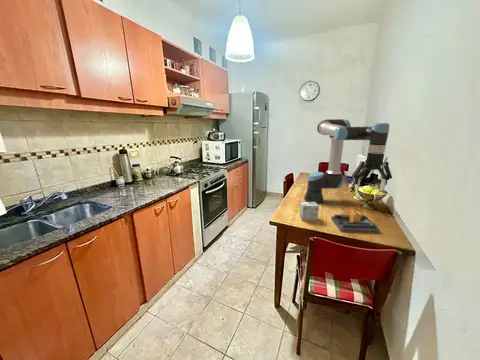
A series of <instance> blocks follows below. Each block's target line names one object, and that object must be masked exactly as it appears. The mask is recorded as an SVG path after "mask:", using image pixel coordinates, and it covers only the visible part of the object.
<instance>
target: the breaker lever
mask: <svg viewBox="0 0 480 360" xmlns="http://www.w3.org/2000/svg"><path fill="white" fill-rule="evenodd" d="M349 215H350V219H349V220H350V221H351V222H360V218H361V215H362V213H360V212H359V211H358V210H350V214H349Z"/></svg>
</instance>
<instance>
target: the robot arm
mask: <svg viewBox="0 0 480 360" xmlns="http://www.w3.org/2000/svg"><path fill="white" fill-rule="evenodd" d="M316 130H317V133H318V134H320V135H322V136H329V139H331V141H330V151H329V160H328V168H327V170H326V171H325V173H324V172H321V171H314V172H311V173H309V174H308V177H307V188H306V192H305V195H304V196H303V200H304V202H316V203H317V204H322V203H324V195H323V189H331V190H335V189H341V188H342V187H343V185H344V183H345V176H344V175H343V174H342V171H341V162H342V157H343V150H344V149H343V148H344V141H369V142H368V150H367V152H368V153H367V155H366V161H363V160H360V162H359V164H358V166H357V167H356V168H355V170H354V172H353V173H352V174H351V177H352V178H354V182H353V183H354V184H355V186H354V190H355V191H359V189H360V183H361V177H362V176H364V175H365V173H367V172H368V171H373V170H374V171H378V172H379V174H380V176H382V178H381V181H380V187H379V191H381V192H384V191H385V187H386V186H387V184H388V181H389V180H390V179H392V178H393V176H392V172H391V169H390V166H389V163H390V162H388V161H386V160H385V161H384V159H385V158H384V157H385V154H384V153H385V152H386V147H387V142H388V136H389V132H390V123H388V122H375V123H372V126H368V125H367V126H352V125H351V122H350V121H349V120H348V119H342V118H340V119H337V118H336V119H335V118H334V119H331V118H330V119H329V118H328V119H323V120H321V121H320V122H319V123H318V124H317V127H316ZM382 166H383V168H384V170H383V168H382Z"/></svg>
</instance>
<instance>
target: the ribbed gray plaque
mask: <svg viewBox="0 0 480 360" xmlns="http://www.w3.org/2000/svg"><path fill="white" fill-rule="evenodd" d="M333 216H334V217H335V218H340V217H341V216H350V214H334V215H333ZM361 216H362V217H363V218H362V219H369V216H367V215H363V214H361ZM342 226H343V227H348V228H377V227H378V225H376V224H375V225H370V224H342Z"/></svg>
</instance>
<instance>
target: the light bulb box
mask: <svg viewBox="0 0 480 360" xmlns="http://www.w3.org/2000/svg"><path fill="white" fill-rule="evenodd" d="M299 204H300V205H299V215H298V217H299V216H300V217H299V219H300V220H301V221H318V219H319V209H320V208H319V207H320V206H319V203H316V202H307V201H304V202H303V201H302V202H300V203H299Z"/></svg>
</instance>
